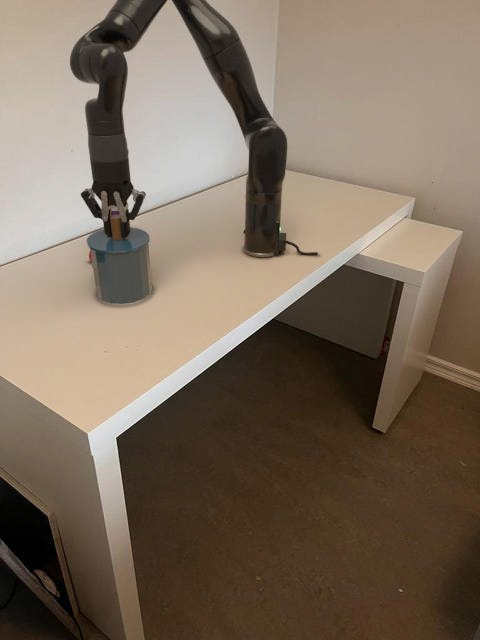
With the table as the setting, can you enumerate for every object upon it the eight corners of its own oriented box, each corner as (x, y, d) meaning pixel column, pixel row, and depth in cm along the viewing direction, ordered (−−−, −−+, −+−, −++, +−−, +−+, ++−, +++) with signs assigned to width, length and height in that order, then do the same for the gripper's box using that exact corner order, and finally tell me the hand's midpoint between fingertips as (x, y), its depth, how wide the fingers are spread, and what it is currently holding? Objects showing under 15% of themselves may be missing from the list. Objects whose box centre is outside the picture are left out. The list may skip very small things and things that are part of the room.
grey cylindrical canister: (157, 281, 125) (153, 232, 119) (144, 307, 115) (139, 255, 108) (106, 278, 126) (100, 229, 120) (89, 304, 116) (81, 252, 109)
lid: (156, 233, 119) (154, 207, 116) (141, 258, 108) (138, 230, 105) (98, 230, 120) (95, 204, 117) (78, 254, 109) (73, 226, 106)
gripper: (67, 159, 101) (80, 241, 111) (138, 162, 101) (145, 245, 110) (81, 149, 108) (92, 228, 117) (148, 152, 107) (154, 231, 116)
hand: (118, 236), depth 113 cm, fingers closed on lid, 2 cm apart
